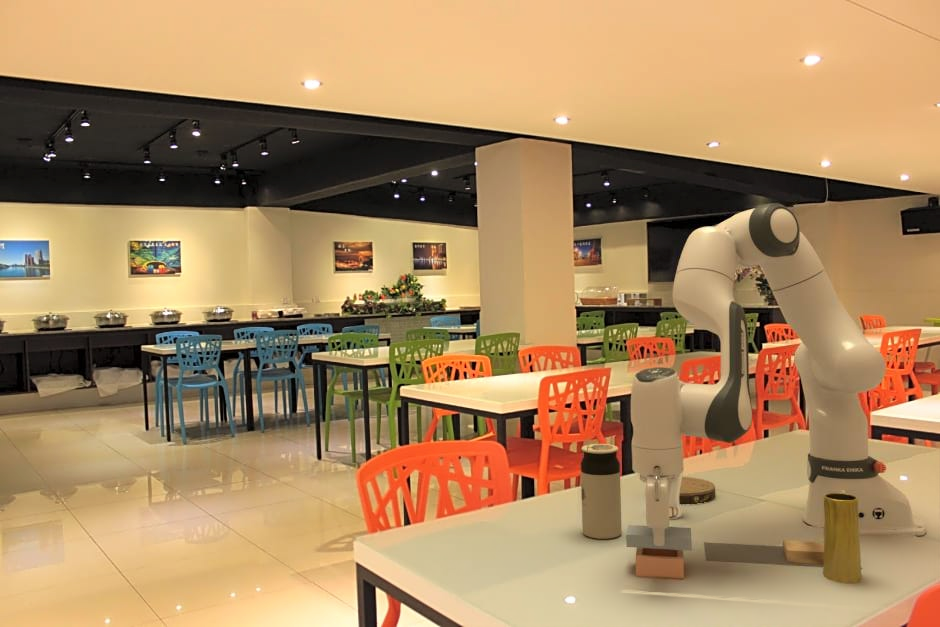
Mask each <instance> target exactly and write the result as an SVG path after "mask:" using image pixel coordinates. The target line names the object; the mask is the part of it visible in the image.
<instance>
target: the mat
mask: <svg viewBox="0 0 940 627" xmlns="http://www.w3.org/2000/svg"><path fill="white" fill-rule="evenodd" d="M703 547H704V555H705V556H704V557H705V561H708V562H709V561H711V562H724V563H742V564H743V563H744V564H757V565H758V564H760V565H761V564H762V565H763V564H764V565H777V566H778V565H781V566H795V567H797V566H798V567H813V568H815V567H816V568H823V564H806V563H788V562H787V560H786V558H785V556H784V553H783V545H782V546H780V545H765V544H764V545H763V544H762V545H760V544H757V545H756V544H746V543H745V544H742V543H726V542H725V543H723V542H722V543H721V542H707V541H706V542H705V541H704V542H703ZM861 570H863V567H861Z"/></svg>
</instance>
